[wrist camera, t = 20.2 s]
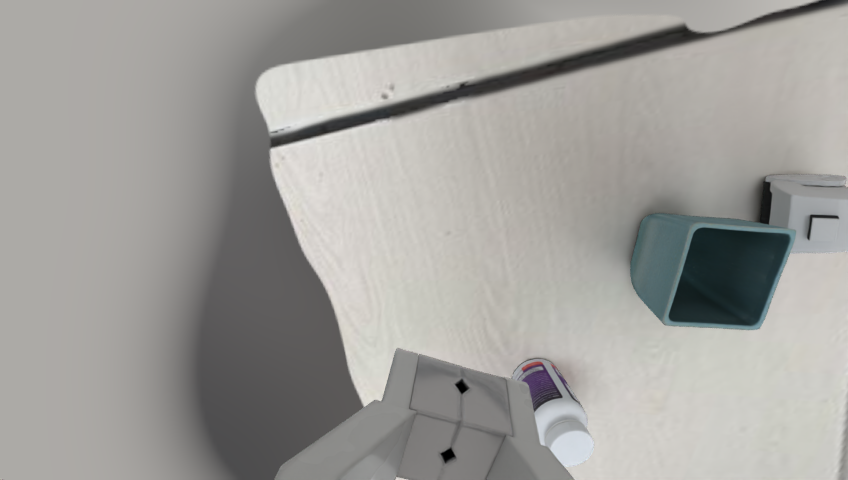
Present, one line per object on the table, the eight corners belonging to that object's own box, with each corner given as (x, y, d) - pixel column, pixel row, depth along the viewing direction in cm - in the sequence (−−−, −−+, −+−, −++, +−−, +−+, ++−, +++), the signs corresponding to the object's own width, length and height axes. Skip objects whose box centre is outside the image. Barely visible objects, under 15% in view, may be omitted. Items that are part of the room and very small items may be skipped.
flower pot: (605, 282, 41) (662, 327, 32) (626, 198, 38) (693, 221, 29) (685, 287, 41) (761, 331, 33) (711, 204, 39) (800, 229, 30)
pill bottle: (504, 394, 44) (533, 469, 35) (518, 353, 42) (553, 419, 33) (549, 402, 45) (589, 477, 35) (565, 361, 43) (612, 428, 34)
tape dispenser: (762, 169, 40) (768, 194, 33) (858, 166, 36) (889, 194, 29) (757, 225, 42) (761, 261, 34) (847, 227, 38) (874, 269, 31)
